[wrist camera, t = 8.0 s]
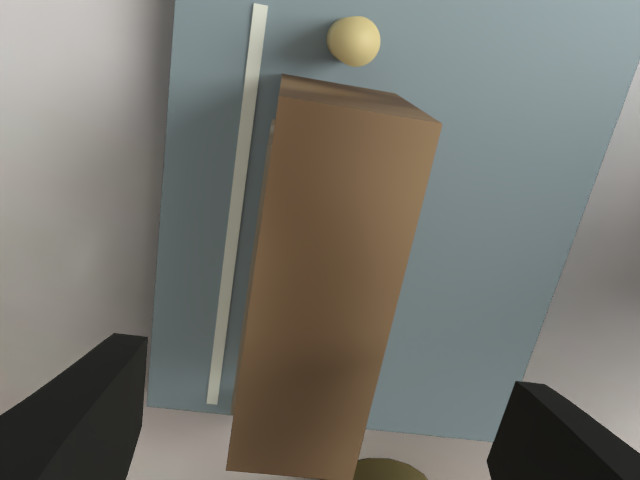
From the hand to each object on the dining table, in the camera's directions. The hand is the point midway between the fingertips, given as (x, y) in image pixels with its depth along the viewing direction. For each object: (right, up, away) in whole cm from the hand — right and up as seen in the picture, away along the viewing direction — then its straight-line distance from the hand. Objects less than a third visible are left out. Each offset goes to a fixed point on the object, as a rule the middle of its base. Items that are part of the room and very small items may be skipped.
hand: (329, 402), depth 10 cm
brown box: (0, +3, +8) cm, 8 cm away
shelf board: (+2, +7, +8) cm, 11 cm away
